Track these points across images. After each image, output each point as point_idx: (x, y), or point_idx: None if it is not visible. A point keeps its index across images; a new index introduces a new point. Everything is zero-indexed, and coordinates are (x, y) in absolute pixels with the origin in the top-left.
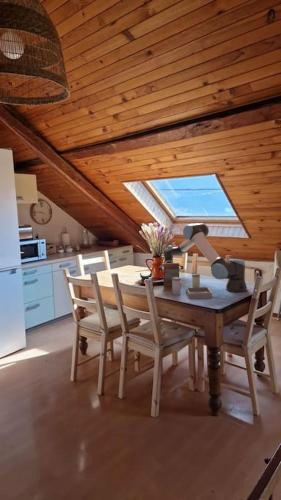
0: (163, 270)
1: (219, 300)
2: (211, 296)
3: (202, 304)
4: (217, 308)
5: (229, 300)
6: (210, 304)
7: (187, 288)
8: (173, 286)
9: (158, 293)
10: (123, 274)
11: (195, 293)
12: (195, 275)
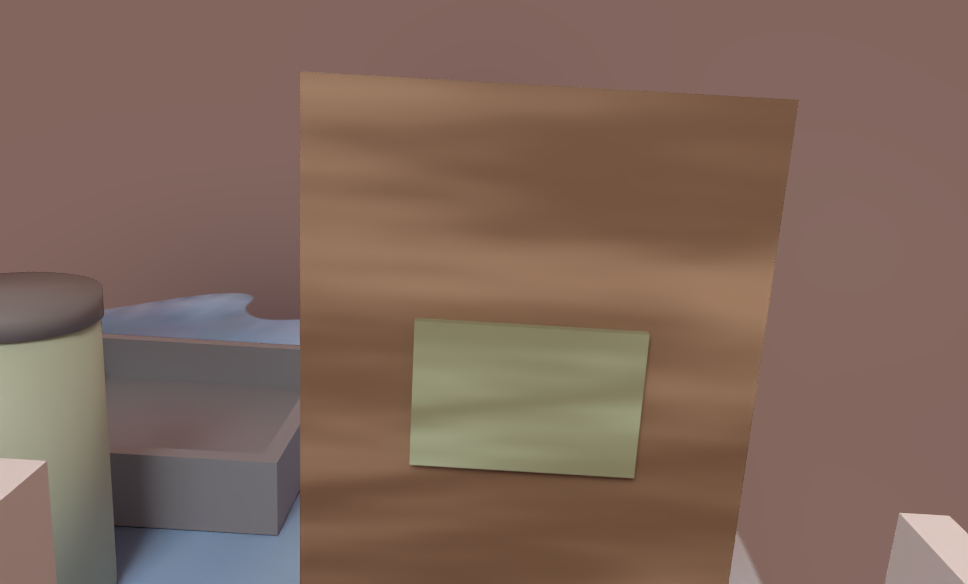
0: (761, 314)
1: None
2: None
3: (294, 328)
4: (233, 294)
5: None
6: (233, 322)
7: (278, 437)
8: None
9: (737, 551)
10: None
11: (274, 346)
12: (70, 274)
